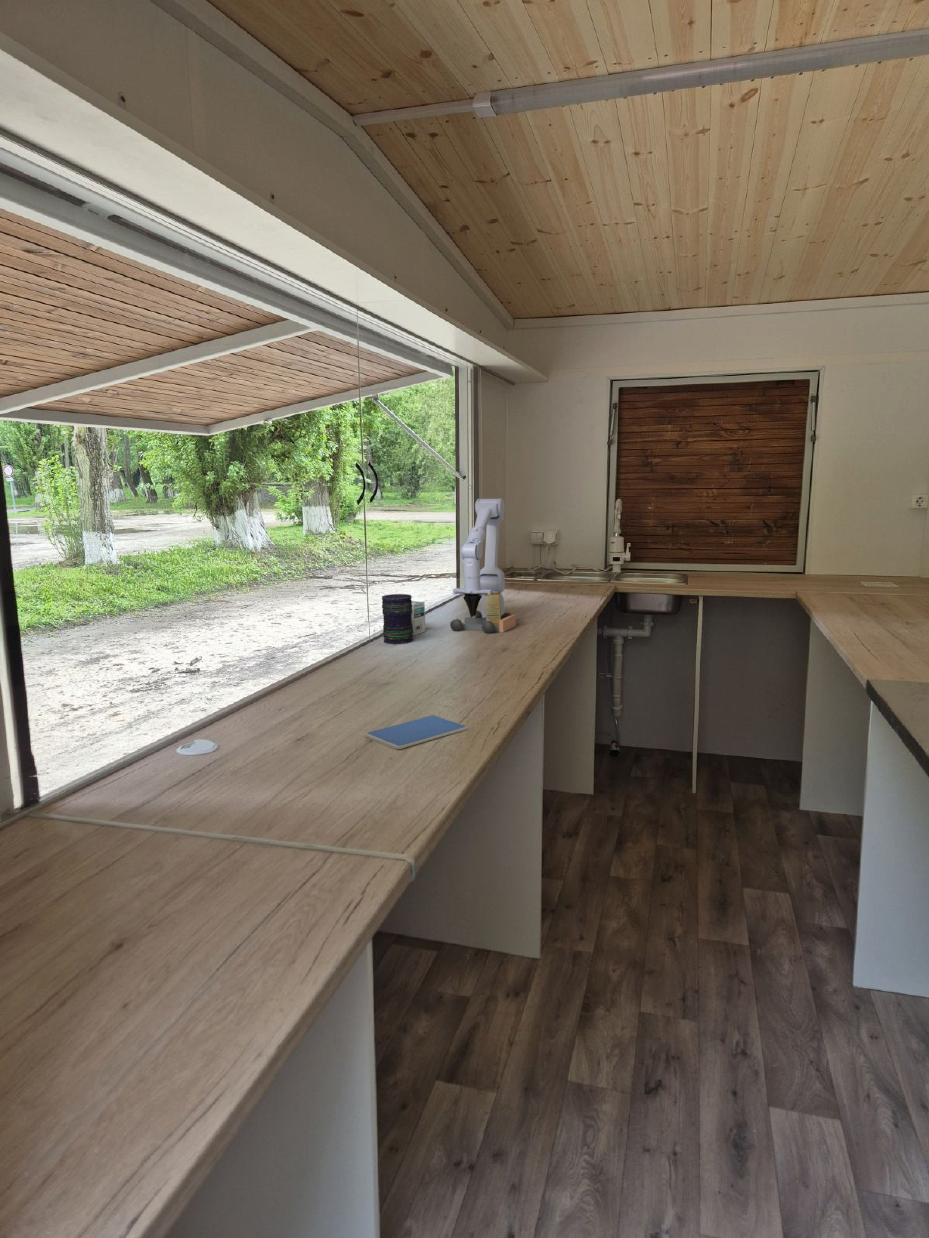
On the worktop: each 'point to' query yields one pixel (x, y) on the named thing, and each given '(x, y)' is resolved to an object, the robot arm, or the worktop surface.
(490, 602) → the shoe polish box
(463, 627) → the chassis
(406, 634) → the storage jar
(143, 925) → the worktop surface
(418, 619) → the light bulb box
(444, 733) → the tablet computer
